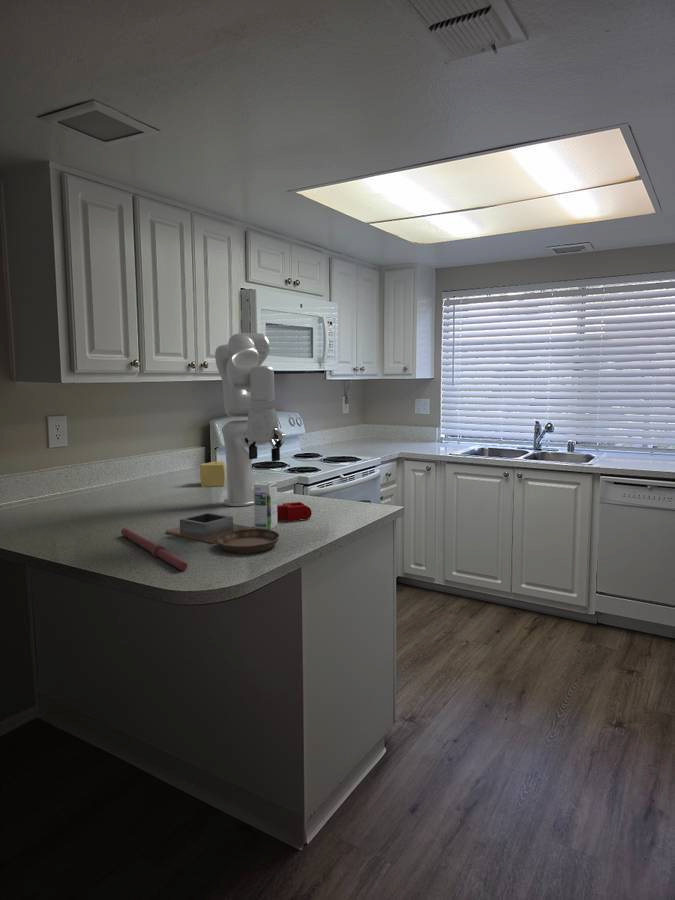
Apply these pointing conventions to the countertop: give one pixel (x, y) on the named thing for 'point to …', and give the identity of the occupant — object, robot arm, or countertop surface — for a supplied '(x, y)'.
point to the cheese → (212, 474)
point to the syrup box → (265, 505)
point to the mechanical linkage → (293, 511)
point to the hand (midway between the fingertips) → (264, 459)
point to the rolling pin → (155, 549)
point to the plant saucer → (248, 540)
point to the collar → (206, 527)
